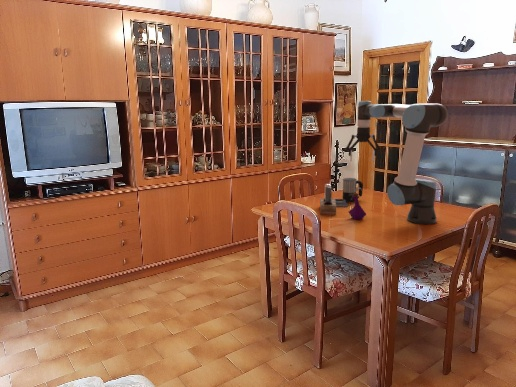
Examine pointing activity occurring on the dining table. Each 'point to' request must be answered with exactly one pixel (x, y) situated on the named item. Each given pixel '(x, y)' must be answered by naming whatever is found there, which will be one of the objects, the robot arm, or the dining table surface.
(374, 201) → the dining table surface
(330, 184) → the steel peg
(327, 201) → the black peg
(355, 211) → the perfume bottle
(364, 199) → the dining table surface
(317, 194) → the dining table surface
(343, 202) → the socket block
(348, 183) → the milk frother
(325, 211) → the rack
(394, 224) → the dining table surface
